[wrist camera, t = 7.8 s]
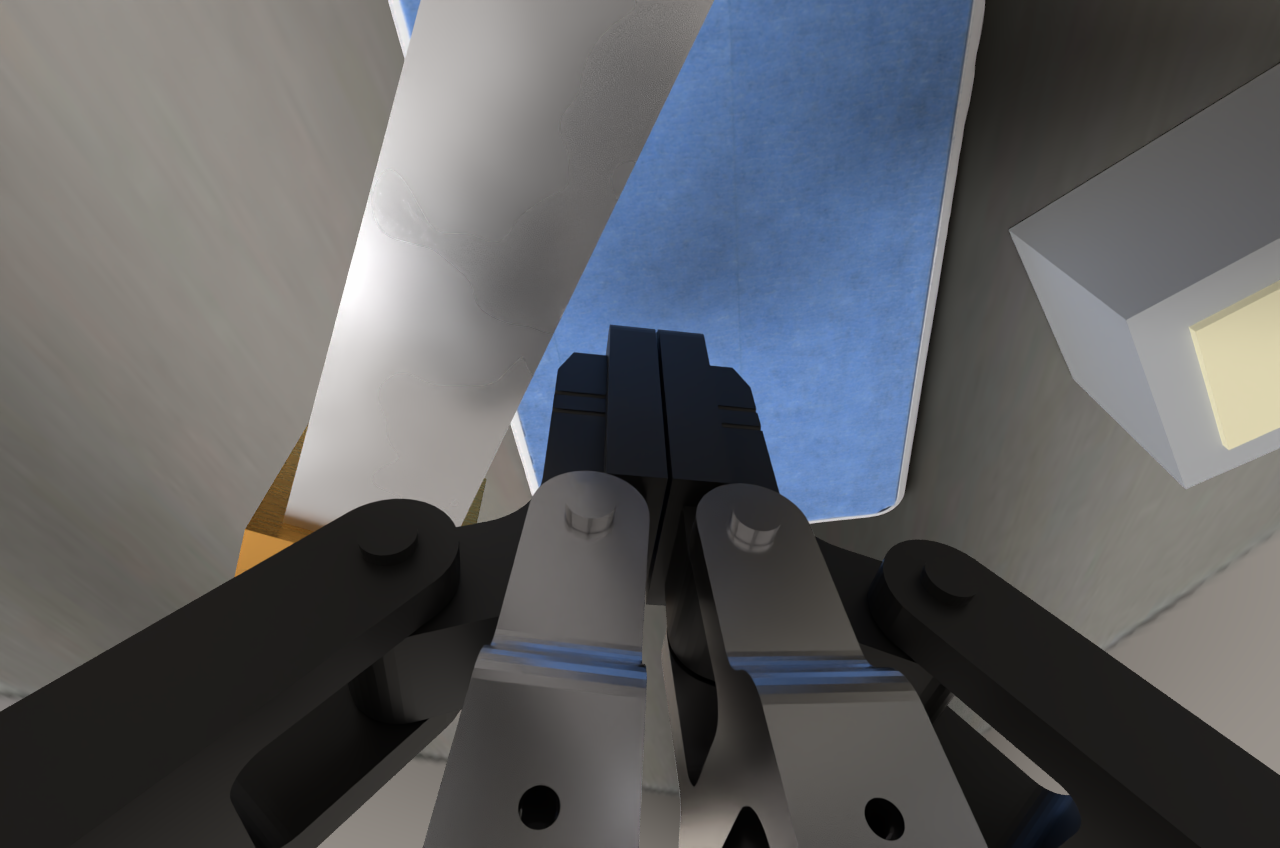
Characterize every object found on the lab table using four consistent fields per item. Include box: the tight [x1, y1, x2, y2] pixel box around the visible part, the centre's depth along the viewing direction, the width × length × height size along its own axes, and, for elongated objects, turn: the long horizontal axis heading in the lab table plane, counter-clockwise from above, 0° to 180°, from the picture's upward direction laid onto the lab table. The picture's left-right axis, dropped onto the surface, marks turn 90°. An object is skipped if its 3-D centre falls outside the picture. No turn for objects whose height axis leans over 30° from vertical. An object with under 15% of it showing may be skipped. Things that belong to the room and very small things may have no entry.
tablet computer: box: [388, 0, 985, 523], centre depth 18 cm, size 19×13×1 cm, turn 7°
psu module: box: [1009, 63, 1280, 489], centre depth 16 cm, size 8×6×5 cm
